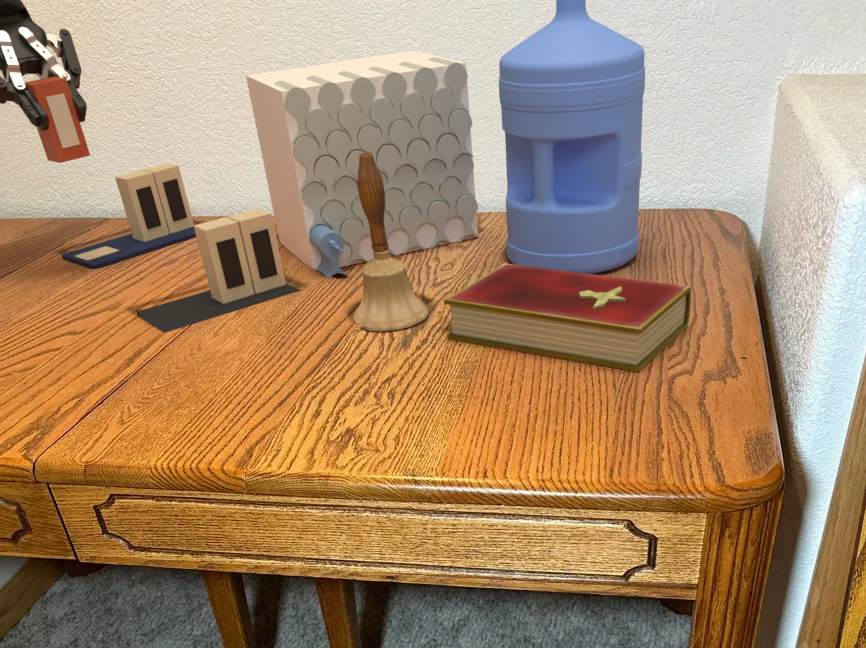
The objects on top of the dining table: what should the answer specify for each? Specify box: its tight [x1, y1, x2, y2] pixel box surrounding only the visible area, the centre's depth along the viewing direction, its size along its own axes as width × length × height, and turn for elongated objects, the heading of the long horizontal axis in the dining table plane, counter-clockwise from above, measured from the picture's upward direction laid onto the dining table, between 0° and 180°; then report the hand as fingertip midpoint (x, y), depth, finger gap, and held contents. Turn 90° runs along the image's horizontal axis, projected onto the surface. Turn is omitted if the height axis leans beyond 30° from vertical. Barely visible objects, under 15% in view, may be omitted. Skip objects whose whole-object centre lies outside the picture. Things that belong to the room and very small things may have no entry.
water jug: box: [498, 0, 646, 275], centre depth 100 cm, size 16×16×28 cm
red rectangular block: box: [24, 77, 91, 164], centre depth 106 cm, size 4×3×8 cm
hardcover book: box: [443, 262, 692, 373], centre depth 90 cm, size 12×21×4 cm, turn 58°
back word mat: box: [61, 162, 197, 270], centre depth 124 cm, size 18×9×8 cm, turn 137°
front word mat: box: [136, 208, 301, 334], centre depth 102 cm, size 17×9×8 cm, turn 128°
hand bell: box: [352, 153, 430, 333], centre depth 93 cm, size 8×8×16 cm
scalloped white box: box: [245, 49, 480, 279], centre depth 111 cm, size 22×24×20 cm
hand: (64, 120), depth 105 cm, fingers closed on red rectangular block, 4 cm apart
